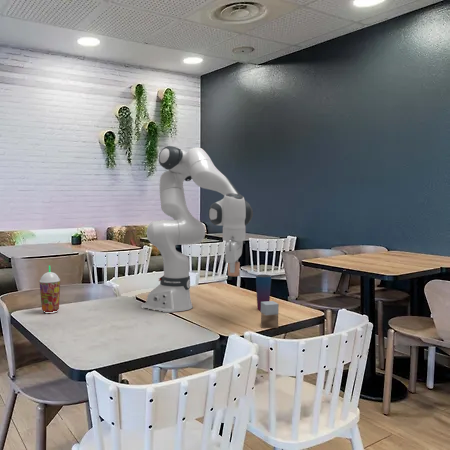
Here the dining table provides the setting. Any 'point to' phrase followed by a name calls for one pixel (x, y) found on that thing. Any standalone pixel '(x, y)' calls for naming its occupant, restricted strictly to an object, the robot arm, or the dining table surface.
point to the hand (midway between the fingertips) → (233, 271)
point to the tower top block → (269, 308)
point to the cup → (263, 289)
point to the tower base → (269, 321)
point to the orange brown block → (237, 270)
